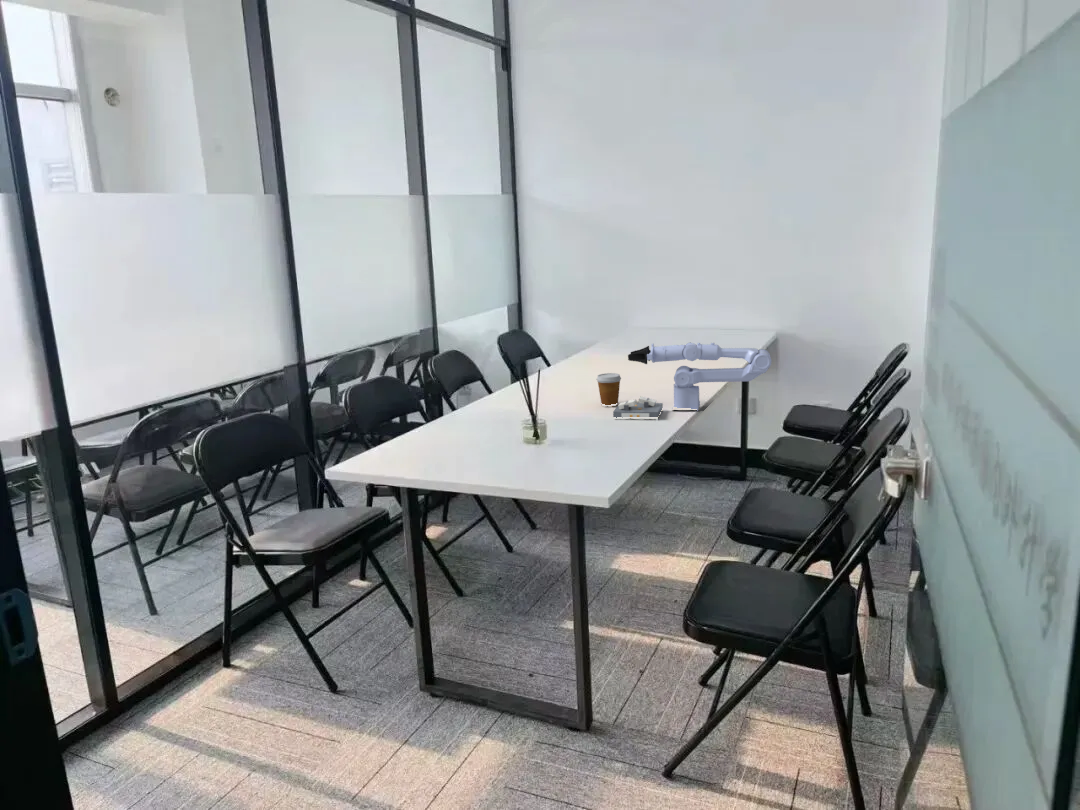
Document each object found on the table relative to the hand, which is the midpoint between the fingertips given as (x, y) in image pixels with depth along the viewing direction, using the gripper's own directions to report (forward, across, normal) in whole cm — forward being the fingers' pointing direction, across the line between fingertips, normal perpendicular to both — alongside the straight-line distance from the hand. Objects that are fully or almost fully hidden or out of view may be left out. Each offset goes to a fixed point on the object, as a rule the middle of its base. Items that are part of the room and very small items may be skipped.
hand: (629, 356), depth 294 cm
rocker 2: (-6, +6, +16) cm, 18 cm away
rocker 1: (+1, +11, +16) cm, 20 cm away
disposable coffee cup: (+10, -7, +20) cm, 23 cm away
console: (-3, +8, +21) cm, 23 cm away
